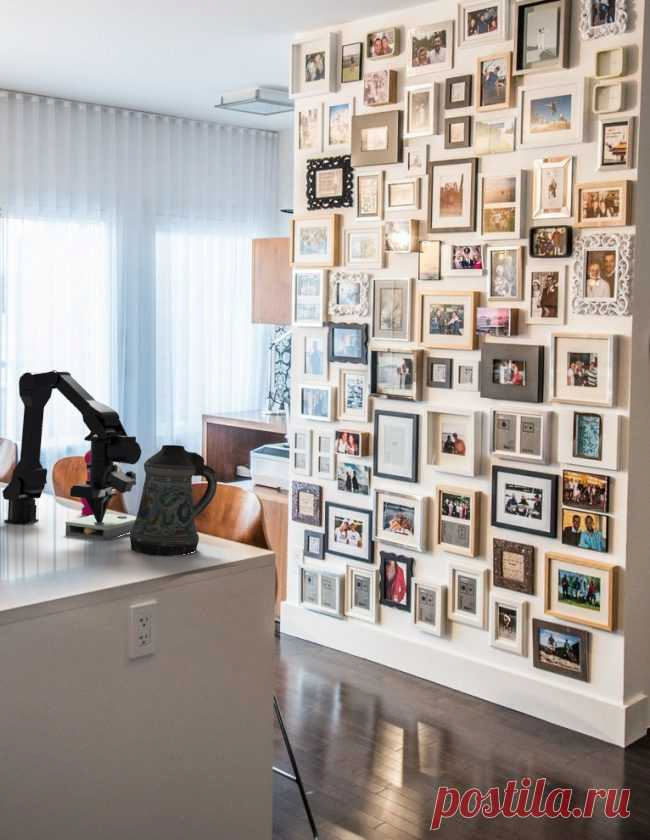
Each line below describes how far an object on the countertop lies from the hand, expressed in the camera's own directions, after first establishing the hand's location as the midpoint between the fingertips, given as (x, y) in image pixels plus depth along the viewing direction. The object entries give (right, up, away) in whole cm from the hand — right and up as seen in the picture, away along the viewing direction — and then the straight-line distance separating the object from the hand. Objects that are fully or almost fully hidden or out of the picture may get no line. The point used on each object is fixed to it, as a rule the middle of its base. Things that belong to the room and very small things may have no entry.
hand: (99, 522), depth 253 cm
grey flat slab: (0, -3, +6) cm, 7 cm away
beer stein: (+19, -6, -9) cm, 22 cm away
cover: (0, -1, +6) cm, 6 cm away
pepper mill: (-9, -1, +32) cm, 34 cm away
